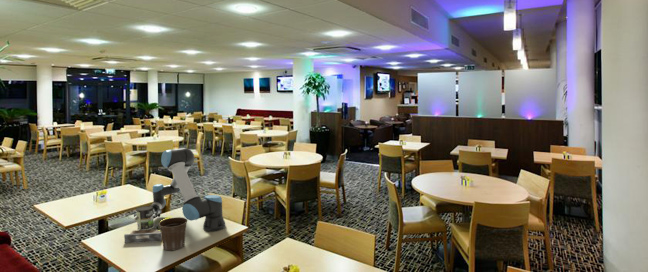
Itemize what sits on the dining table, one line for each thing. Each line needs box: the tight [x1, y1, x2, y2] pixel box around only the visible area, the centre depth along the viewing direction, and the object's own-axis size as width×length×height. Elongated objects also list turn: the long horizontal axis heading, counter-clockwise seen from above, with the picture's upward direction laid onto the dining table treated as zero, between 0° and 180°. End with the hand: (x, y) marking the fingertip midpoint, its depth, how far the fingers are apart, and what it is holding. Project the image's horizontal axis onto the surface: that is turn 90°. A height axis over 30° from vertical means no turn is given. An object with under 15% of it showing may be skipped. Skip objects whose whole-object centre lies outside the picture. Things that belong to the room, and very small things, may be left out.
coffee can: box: [135, 205, 155, 230], centre depth 241 cm, size 10×10×14 cm
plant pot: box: [158, 216, 188, 252], centre depth 217 cm, size 16×16×16 cm
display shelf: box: [123, 229, 163, 244], centre depth 230 cm, size 22×14×6 cm, turn 97°
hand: (142, 219), depth 236 cm, fingers closed on coffee can, 10 cm apart
